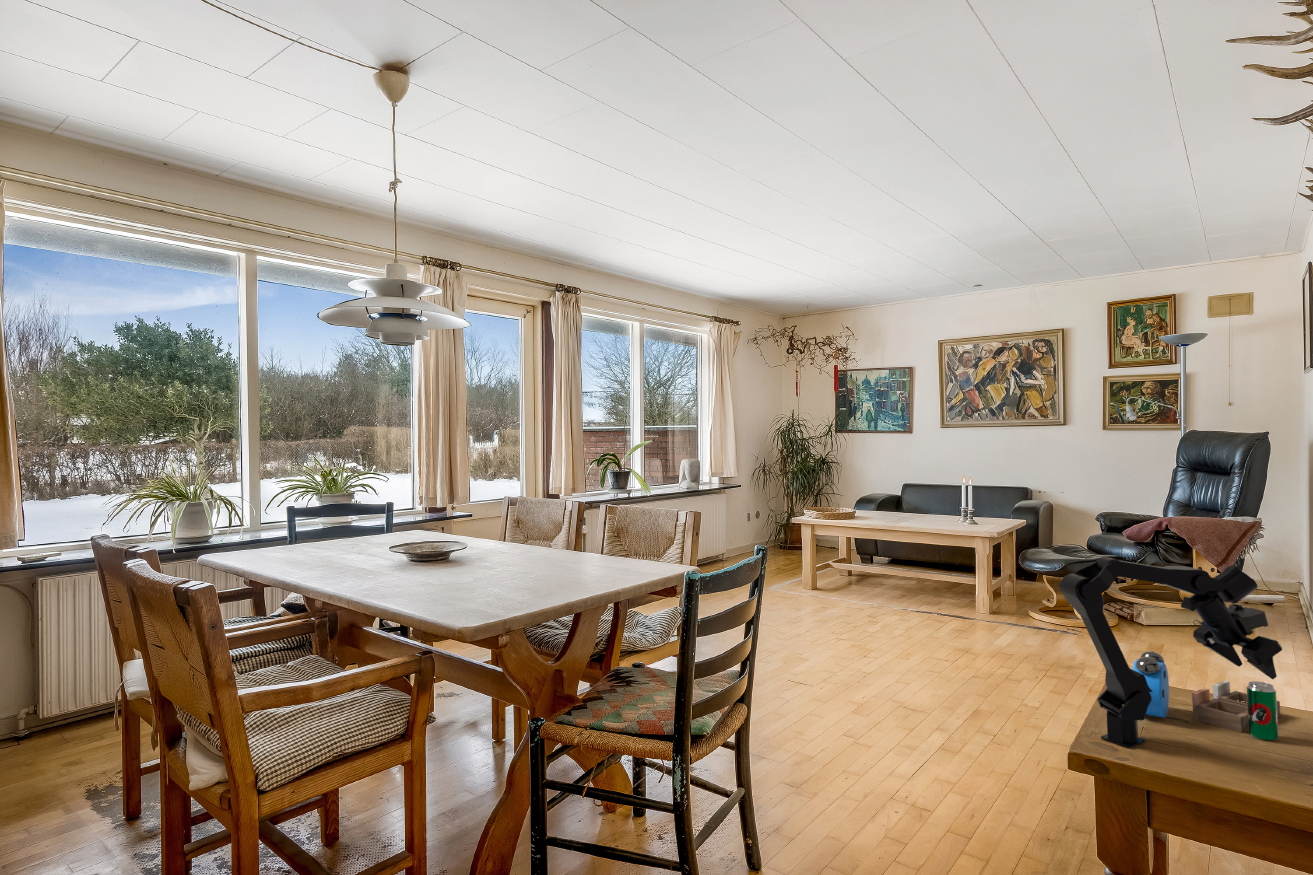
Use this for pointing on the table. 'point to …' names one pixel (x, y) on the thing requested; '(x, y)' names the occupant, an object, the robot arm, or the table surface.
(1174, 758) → the table surface
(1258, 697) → the soda can
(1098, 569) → the robot arm
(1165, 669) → the alarm clock
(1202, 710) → the socket block
